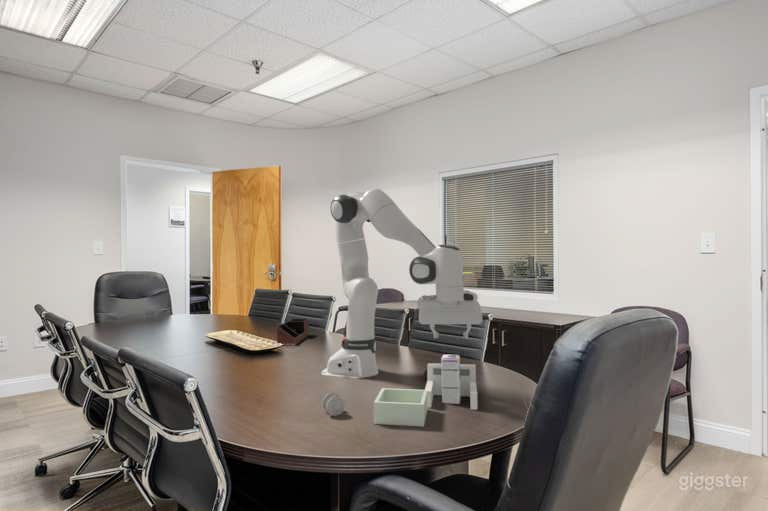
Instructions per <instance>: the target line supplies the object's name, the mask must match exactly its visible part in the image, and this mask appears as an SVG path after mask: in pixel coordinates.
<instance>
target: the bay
mask: <svg viewBox="0 0 768 511" xmlns="http://www.w3.org/2000/svg"><path fill="white" fill-rule="evenodd" d="M426 366H427V368H426V370H427V381H426V384H425V388H424V390H427V409H429V408H430V409H431V408H432V405H433V400H434V396H442V374H441V362H439V363H438V362H437V363H436V362H434V363H433V362H427V365H426ZM476 370H477V368H476V364H475V363H474V364H471V363H469V364H468V363H460V385H461V397H469V404H470V406H469V407H470V410H473V411H476V410H478V388H477V382H476V381H477V374H476V373H477V371H476Z"/></svg>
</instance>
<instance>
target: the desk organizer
mask: <svg viewBox="0 0 768 511" xmlns="http://www.w3.org/2000/svg"><path fill="white" fill-rule="evenodd" d="M309 323H310V322H309V318H291V319H289V320H287V321H285V322H283V323H280V324H278V325H276V344H277V343H281V344H283V345H282V346H290V347H292V346H293V347H295V346H297V345H299V343H301V342H302V341H303V340H304V339H306V338H308V337H309V335H310V333H309V332H310V331H309V330H310V328H309V325H310V324H309Z"/></svg>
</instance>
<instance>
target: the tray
mask: <svg viewBox="0 0 768 511" xmlns="http://www.w3.org/2000/svg"><path fill="white" fill-rule="evenodd" d="M427 414H428V407H427V390H425V389H414V388H413V389H412V388H411V389H410V388H389V387H388V388H385V387H383V388H381V389H380V391H379V392H378V394H377V396H376V397H375V400H374V401H373V424H375V425H389V426H390V425H391V426H404V427H405V426H409V427H425V422H426V418H427Z"/></svg>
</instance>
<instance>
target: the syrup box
mask: <svg viewBox="0 0 768 511" xmlns="http://www.w3.org/2000/svg"><path fill="white" fill-rule="evenodd" d="M440 359H441V360H440V363H441V374H442V395H441V403H442V404H450V405H452V404H453V405H454V404H455V405H460V404H461V401H462V400H461V399H462V398H461V397H462V396H461V385H460V364H461V356H460V354H451V353H450V354H442V356H441V358H440Z"/></svg>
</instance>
